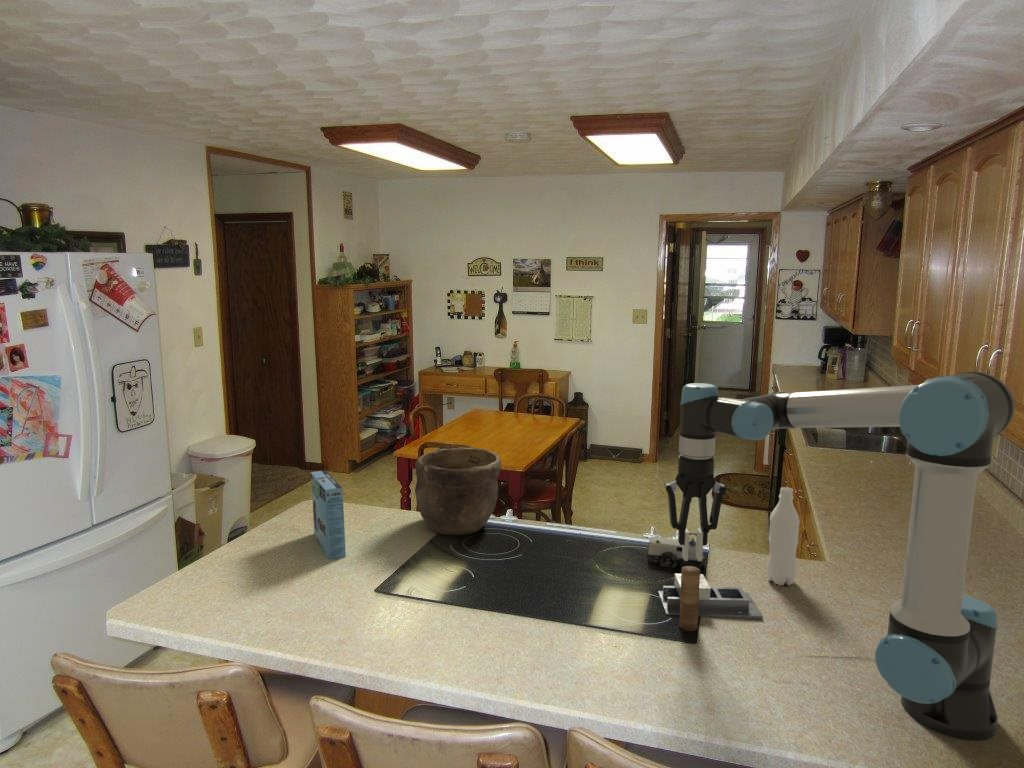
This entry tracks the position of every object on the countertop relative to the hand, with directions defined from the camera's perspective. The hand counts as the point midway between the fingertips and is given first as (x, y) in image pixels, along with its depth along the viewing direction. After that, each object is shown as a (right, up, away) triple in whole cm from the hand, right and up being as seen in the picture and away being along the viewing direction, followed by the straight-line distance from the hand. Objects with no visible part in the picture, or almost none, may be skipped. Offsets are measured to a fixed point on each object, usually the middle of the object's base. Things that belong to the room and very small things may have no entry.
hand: (691, 558), depth 156 cm
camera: (+5, -12, +36) cm, 38 cm away
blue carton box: (-91, -10, +41) cm, 100 cm away
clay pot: (-56, -8, +58) cm, 81 cm away
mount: (+7, -15, +13) cm, 21 cm away
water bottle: (+30, -13, +27) cm, 42 cm away
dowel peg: (0, -16, +2) cm, 17 cm away
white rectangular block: (+3, -11, +12) cm, 17 cm away
